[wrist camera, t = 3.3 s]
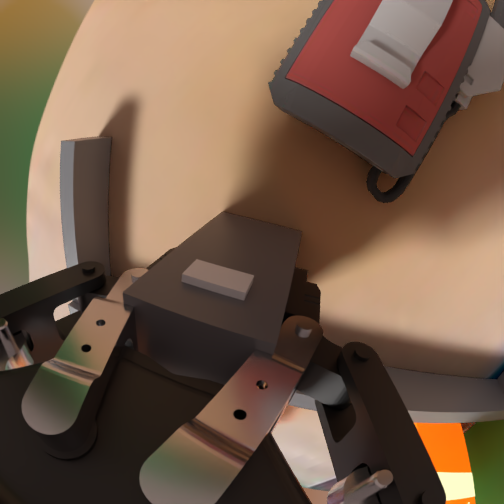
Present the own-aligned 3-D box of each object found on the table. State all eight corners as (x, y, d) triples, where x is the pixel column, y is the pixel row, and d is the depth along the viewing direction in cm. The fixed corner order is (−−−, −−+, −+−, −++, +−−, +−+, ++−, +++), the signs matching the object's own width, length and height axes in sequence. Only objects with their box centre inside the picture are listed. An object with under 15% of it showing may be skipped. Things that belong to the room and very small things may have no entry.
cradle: (566, 274, 9) (595, 302, 5) (496, 389, 14) (509, 424, 10) (97, 136, 14) (45, 143, 10) (101, 294, 18) (65, 323, 15)
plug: (303, 226, 13) (279, 336, 6) (283, 300, 15) (246, 427, 8) (223, 206, 14) (121, 284, 6) (212, 280, 15) (135, 385, 8)
